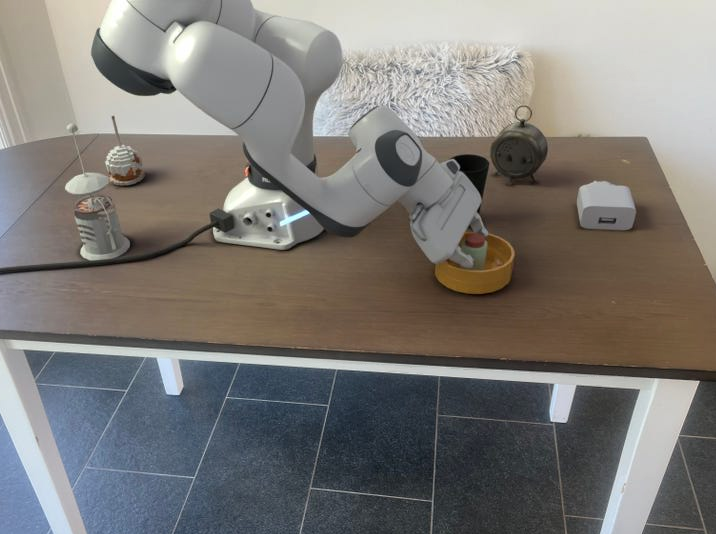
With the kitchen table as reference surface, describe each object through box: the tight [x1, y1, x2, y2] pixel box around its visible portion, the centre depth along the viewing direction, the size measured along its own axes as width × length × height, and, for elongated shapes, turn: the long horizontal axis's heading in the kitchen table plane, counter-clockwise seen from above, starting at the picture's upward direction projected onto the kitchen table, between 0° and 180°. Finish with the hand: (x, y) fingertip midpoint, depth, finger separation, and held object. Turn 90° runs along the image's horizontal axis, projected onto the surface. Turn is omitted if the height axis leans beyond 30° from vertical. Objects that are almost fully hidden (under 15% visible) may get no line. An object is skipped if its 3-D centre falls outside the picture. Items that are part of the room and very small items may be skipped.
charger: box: [576, 180, 637, 231], centre depth 138 cm, size 5×9×15 cm
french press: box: [64, 123, 131, 261], centre depth 132 cm, size 10×12×25 cm
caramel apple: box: [104, 114, 146, 186], centre depth 159 cm, size 8×8×15 cm
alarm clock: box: [489, 104, 549, 186], centre depth 146 cm, size 11×5×16 cm, turn 58°
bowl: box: [434, 231, 516, 295], centre depth 124 cm, size 13×13×5 cm
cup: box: [448, 153, 490, 228], centre depth 136 cm, size 8×8×12 cm
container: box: [460, 233, 487, 270], centre depth 123 cm, size 4×4×7 cm
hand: (478, 252), depth 122 cm, fingers open, 8 cm apart
